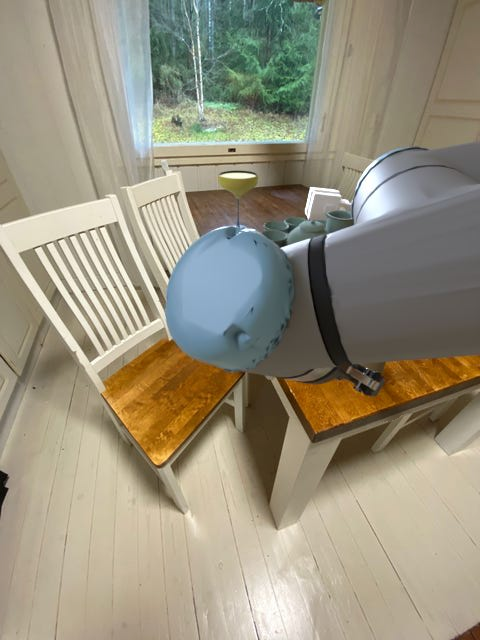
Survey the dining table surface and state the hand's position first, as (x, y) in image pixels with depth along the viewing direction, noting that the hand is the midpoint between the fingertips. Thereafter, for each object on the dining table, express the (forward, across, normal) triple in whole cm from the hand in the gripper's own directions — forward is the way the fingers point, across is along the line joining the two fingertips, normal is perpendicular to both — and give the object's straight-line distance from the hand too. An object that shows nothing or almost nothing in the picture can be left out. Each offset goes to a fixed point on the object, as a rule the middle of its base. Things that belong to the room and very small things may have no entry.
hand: (347, 367), depth 45 cm
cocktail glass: (+54, -90, +30) cm, 109 cm away
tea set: (+55, -52, +32) cm, 82 cm away
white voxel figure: (+89, -68, +66) cm, 130 cm away
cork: (+24, 0, +1) cm, 24 cm away
